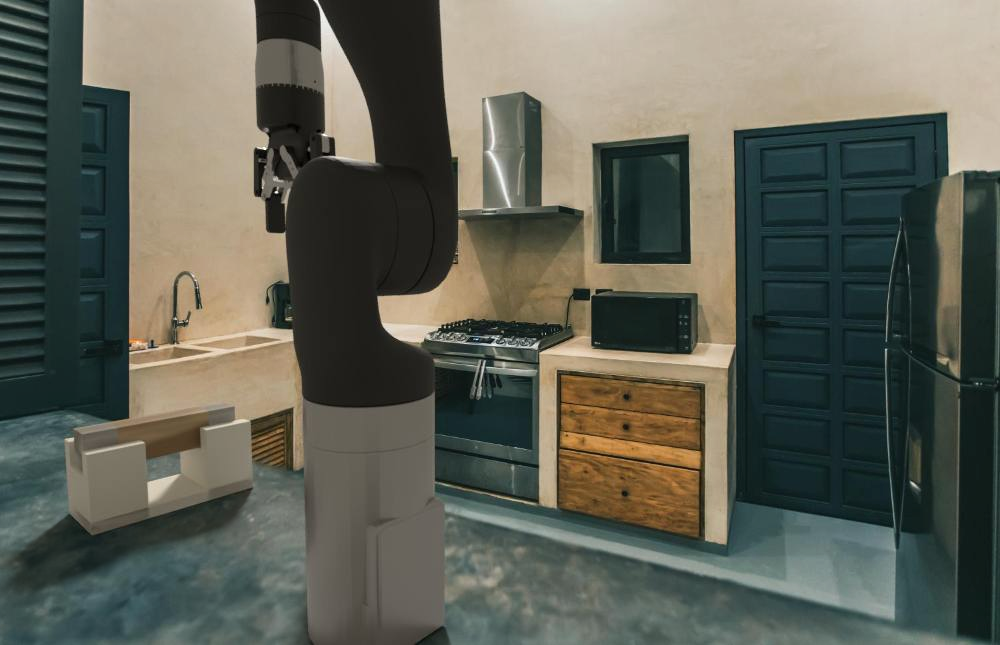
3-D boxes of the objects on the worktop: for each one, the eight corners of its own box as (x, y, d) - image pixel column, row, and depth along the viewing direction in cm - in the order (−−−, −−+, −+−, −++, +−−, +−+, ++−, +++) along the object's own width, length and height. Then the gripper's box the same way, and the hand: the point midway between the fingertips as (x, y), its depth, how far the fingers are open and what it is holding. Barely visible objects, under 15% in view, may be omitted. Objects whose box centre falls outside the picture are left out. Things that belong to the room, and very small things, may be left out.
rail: (235, 439, 68) (234, 406, 67) (84, 473, 56) (82, 434, 56) (224, 434, 70) (223, 402, 69) (75, 466, 58) (73, 428, 58)
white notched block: (252, 487, 67) (250, 421, 66) (91, 535, 55) (86, 455, 54) (223, 472, 72) (221, 410, 71) (69, 513, 60) (64, 439, 59)
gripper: (354, 87, 64) (356, 231, 66) (288, 108, 73) (291, 235, 75) (293, 69, 59) (297, 228, 60) (229, 94, 68) (234, 232, 69)
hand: (294, 231), depth 68 cm, fingers open, 8 cm apart
